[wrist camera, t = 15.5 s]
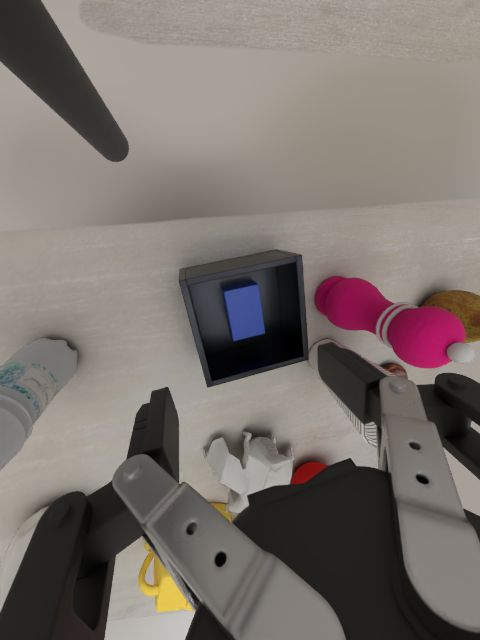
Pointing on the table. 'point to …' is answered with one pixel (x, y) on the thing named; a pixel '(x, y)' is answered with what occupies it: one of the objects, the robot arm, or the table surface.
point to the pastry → (396, 370)
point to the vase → (16, 553)
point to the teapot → (167, 579)
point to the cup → (365, 430)
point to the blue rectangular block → (243, 309)
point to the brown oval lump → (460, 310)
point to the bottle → (30, 389)
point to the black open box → (277, 308)
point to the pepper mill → (395, 323)
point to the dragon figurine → (249, 468)
